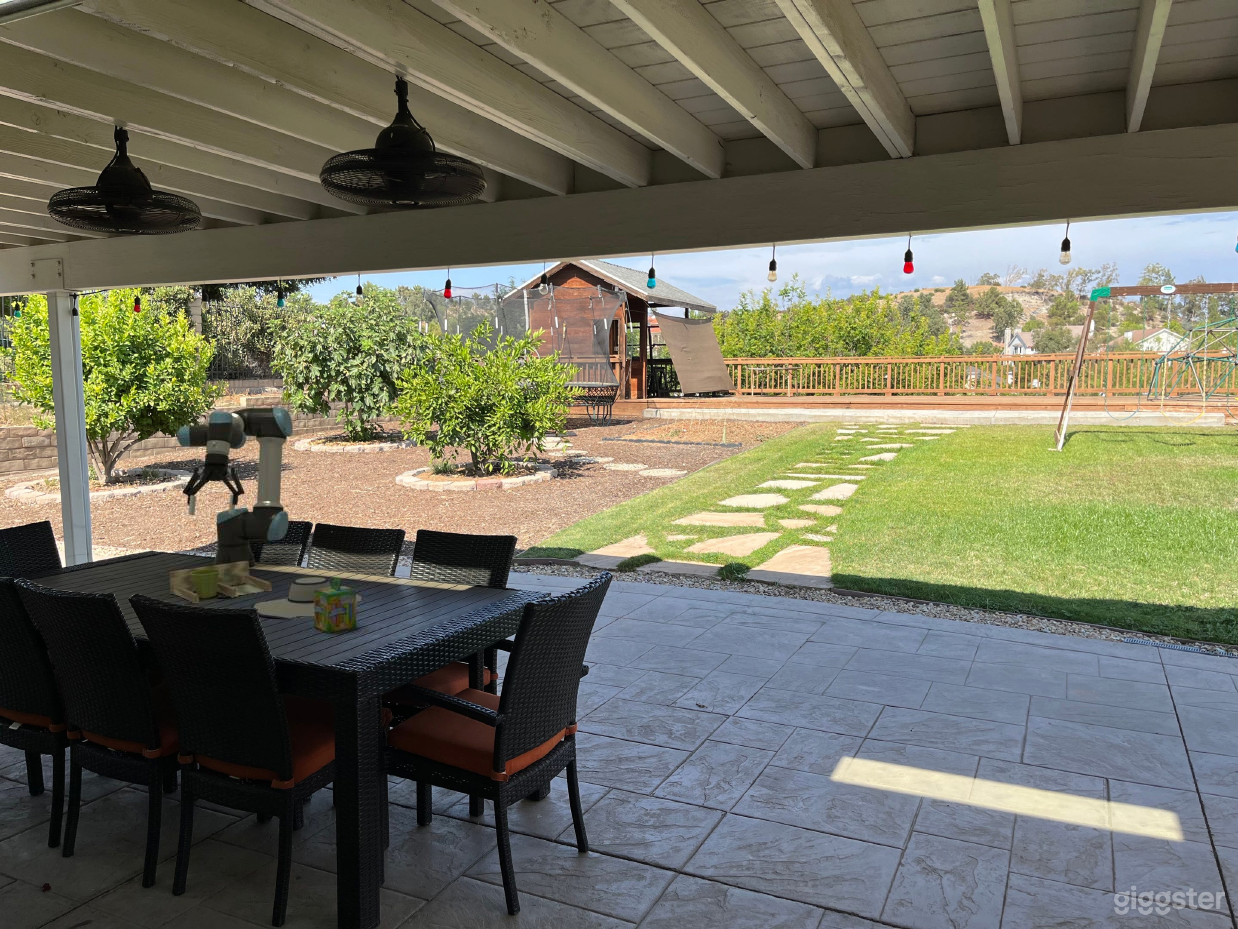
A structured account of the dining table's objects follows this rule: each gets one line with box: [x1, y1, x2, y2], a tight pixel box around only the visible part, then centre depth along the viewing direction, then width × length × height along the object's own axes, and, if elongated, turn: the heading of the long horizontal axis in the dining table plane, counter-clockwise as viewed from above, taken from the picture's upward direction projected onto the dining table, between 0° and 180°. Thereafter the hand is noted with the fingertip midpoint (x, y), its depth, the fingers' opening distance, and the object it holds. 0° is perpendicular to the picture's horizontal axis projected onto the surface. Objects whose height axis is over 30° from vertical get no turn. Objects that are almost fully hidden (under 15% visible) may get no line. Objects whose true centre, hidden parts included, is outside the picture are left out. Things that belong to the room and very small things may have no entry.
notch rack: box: [169, 561, 273, 604], centre depth 301 cm, size 27×21×8 cm
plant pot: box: [190, 569, 220, 599], centre depth 295 cm, size 9×9×9 cm
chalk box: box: [313, 576, 357, 634], centre depth 254 cm, size 9×9×15 cm
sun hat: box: [250, 576, 362, 620], centre depth 283 cm, size 36×36×9 cm
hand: (211, 514), depth 297 cm, fingers open, 13 cm apart
